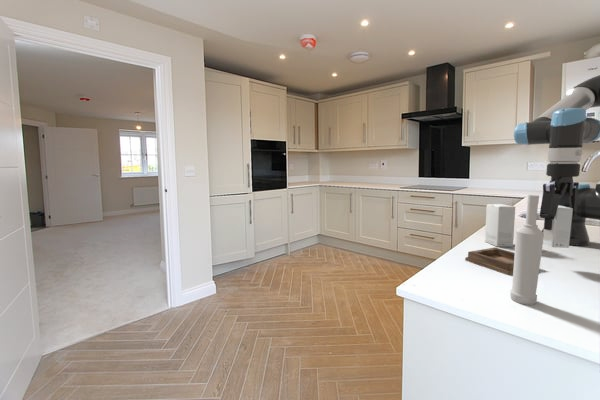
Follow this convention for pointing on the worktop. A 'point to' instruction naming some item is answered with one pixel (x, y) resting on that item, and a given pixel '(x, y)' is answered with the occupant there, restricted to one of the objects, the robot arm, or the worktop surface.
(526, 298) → the bottle
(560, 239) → the skincare box
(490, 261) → the brown square tray
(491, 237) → the skincare box
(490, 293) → the worktop surface
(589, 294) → the worktop surface
